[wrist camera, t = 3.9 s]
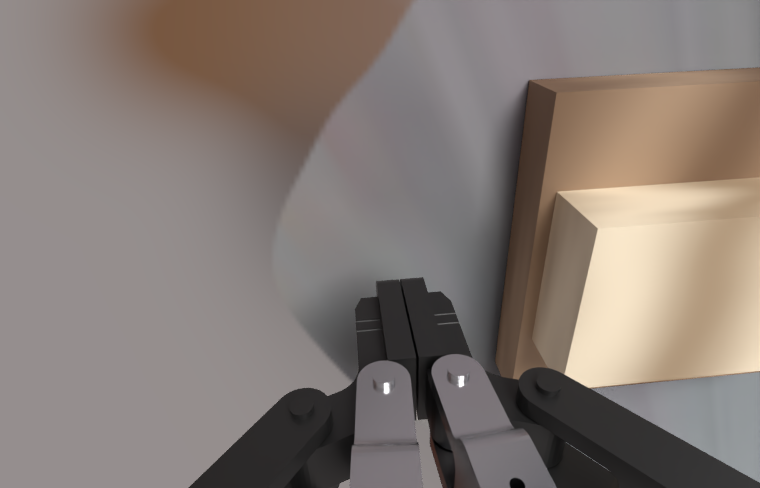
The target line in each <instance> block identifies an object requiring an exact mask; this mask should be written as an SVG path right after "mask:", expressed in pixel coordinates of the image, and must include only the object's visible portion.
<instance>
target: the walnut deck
mask: <svg viewBox="0 0 760 488" xmlns="http://www.w3.org/2000/svg"><path fill="white" fill-rule="evenodd" d="M758 177H760V68H742V69H724V70H706V71H687V72H669V73H651V74H632V75H614V76H596V77H578V78H559V79H541V80H529V87H528V96H527V104H526V112H525V120H524V128H523V137H522V145H521V153H520V161H519V169H518V178H517V186H516V194H515V202H514V210H513V219H512V227H511V235H510V243H509V251H508V259H507V268H506V276H505V284H504V292H503V300H502V309H501V317H500V325H499V333H498V341H497V350H496V358H495V363H496V365H497V367H498V369H499V372H500V374H501V376H502V377H506V378H512V379H518V380H519V378H520V376H521V375H522V373H523V372H525V371H526V370H528V369H531V368H536V367H544V368H548V367H547V365H546V363H545V362H544V360H543V358H542V356H541V355H540V353H539V351H538V349H537V348H536V346H535V344H534V342H533V340H532V335H533V329H534V324H535V318H536V312H537V306H538V300H539V294H540V288H541V283H542V277H543V271H544V265H545V259H546V253H547V247H548V242H549V236H550V230H551V224H552V218H553V212H554V207H555V201H556V195H557V192H560V191H574V190H588V189H602V188H616V187H630V186H645V185H659V184H673V183H687V182H701V181H716V180H730V179H744V178H758ZM754 372H760V371H754ZM754 372H744V373H754ZM744 373H734V374H744ZM734 374H723V375H734ZM723 375H713V376H723ZM713 376H703V377H713ZM703 377H693V378H703ZM693 378H683V379H693ZM683 379H673V380H683ZM673 380H662V381H673ZM662 381H652V382H662ZM652 382H642V383H652ZM642 383H632V384H642ZM632 384H622V385H632ZM622 385H611V386H601V387H612V386H622ZM601 387H591V388H601ZM591 388H590V389H591Z"/></svg>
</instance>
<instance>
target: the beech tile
mask: <svg viewBox="0 0 760 488" xmlns="http://www.w3.org/2000/svg"><path fill="white" fill-rule="evenodd" d="M532 340H533V342H534V344H535V346H536V348H537V349H538V351H539V353H540V355H541V356H542V358H543V360H544V362H545V363H546V365H547V367H548V368H550V369H554V370H556V371H559V372H561V373H563V374H564V375H566V376H568V377H570V378H572V379H573V380H575V381H577V382H579V383H581V384H582V385H584V386H586V387H588V388H591V387H601V386H611V385H622V384H632V383H642V382H652V381H662V380H673V379H683V378H693V377H703V376H713V375H723V374H734V373H744V372H754V371H760V177H758V178H744V179H730V180H716V181H701V182H687V183H673V184H659V185H645V186H630V187H616V188H602V189H588V190H574V191H560V192H557V195H556V201H555V207H554V212H553V218H552V224H551V230H550V236H549V242H548V247H547V253H546V259H545V265H544V271H543V277H542V283H541V288H540V294H539V300H538V306H537V312H536V318H535V324H534V329H533V335H532Z"/></svg>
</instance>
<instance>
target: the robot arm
mask: <svg viewBox="0 0 760 488" xmlns="http://www.w3.org/2000/svg"><path fill="white" fill-rule="evenodd" d="M376 292H377V297H371V298H361V300H360V301H359V303H358V305H357V307H356V309H355V313H356V329H357V344H358V360H359V372H358V375H357V377H356V379H355V380H354V382H353V383H352V384H351V385H350V386H348V387H347V388H346V389H344V390H342V391H340V392H338V393H335V394H332V395H330V396H326V395H325V394H324V393H323V392H321V391H319V390H317V389H313V388H302V389H297V390H294V391H292V392H290V393H288V394H286V395H285V396H284V397H282V398H281V399H280V400H279V401H278V402H277V403H276V404H275V405H274V406H273V407H272V408H271V409H270V410H269V411H268V412H267V413H266V414H265V415H264V416H262V418H260V420H258V421H257V422H256V423H255V424H254V425H253V426H252V427H251V428H250V429H249V430H248V431H247V432H246V433H245V434H244V435H243V436H242V437H241V438H240V439H239V440H238V441H237V442H236V443H234V444H233V445H232V446H231V447H230V448H229V449H228V450H227V451H226V452H225V453H224V454H223V455H222V456H221V457H220V458H219V459H218V460H217V461H216V462H215V463H214V464H213V465H212V466H211V467H210V468H209V469H208V470H207V471H206V472H204V473H203V474H202V475H201V476H200V477H199V478H198V479H197V480H196V481H195V482H194V483H193V484H192V485H191V486H190V487H189V488H338V487H339V484H340V483H341V482H343V481H346V480H348V479H350V488H423V482H422V471H421V462H420V451H419V444H418V442H417V439H416V429H415V420H416V410H417V415H418V420H421V419H428V423H429V428H430V447H431V450H432V453H433V457H434V460H435V464H436V467H437V470H438V473H439V477H440V480H441V484H442V487H443V488H760V483H759V482H757V481H755V480H753V479H752V478H750V477H748V476H746V475H744V474H743V473H741V472H739V471H737V470H735V469H734V468H732V467H730V466H728V465H726V464H725V463H723V462H721V461H719V460H717V459H716V458H714V457H712V456H710V455H708V454H707V453H705V452H703V451H701V450H699V449H698V448H696V447H694V446H692V445H690V444H689V443H687V442H685V441H683V440H681V439H680V438H678V437H676V436H674V435H672V434H671V433H669V432H667V431H665V430H663V429H662V428H660V427H658V426H656V425H654V424H653V423H651V422H649V421H647V420H645V419H644V418H642V417H640V416H638V415H636V414H635V413H633V412H631V411H629V410H627V409H626V408H624V407H622V406H620V405H618V404H617V403H615V402H613V401H611V400H609V399H608V398H606V397H604V396H602V395H600V394H599V393H597V392H595V391H593V390H591V389H590V388H588V387H586V386H584V385H582V384H581V383H579V382H577V381H575V380H573V379H572V378H570V377H568V376H566V375H564V374H563V373H561V372H559V371H556V370H554V369H550V368H544V367H536V368H531V369H528V370H526V371H525V372H523V373H522V375H521V376H520V378H519V380H518V379H512V378H506V377H500V376H496V375H493V374H490V373H488V372H486V371H485V370H484V369H483V367H482V365H481V364H480V363H479V362H477V361H476V360H475V359H473V358H472V356H471V353H470V351H469V348H468V345H467V343H466V340H465V337H464V335H463V332H462V329H461V327H460V324H459V322H458V319H457V316H456V314H455V311H454V308H453V305H452V303H451V301H450V300H449V299H448V298H447V297H446V296H445V295H444V294H443V293H442V292H430V293H428V292H427V288H426V285H425V282H424V279H423V277H422V278H410V279H400V282H399V279H398V280H386V281H376ZM566 442H567V443H569V444H570V445H572V446H573V447H575V448H576V449H578V450H579V451H578V450H576V449H575V448H573V447H572V446H570V445H569V444H567V443H566ZM580 451H581V452H582V453H581V452H580ZM583 453H584V454H585V455H584V454H583ZM586 455H587V456H588V457H587V456H586ZM589 457H590V458H591V459H590V458H589ZM592 459H593V460H595V461H596V462H598V463H599V464H601V465H602V466H604V467H605V468H607V469H608V470H609V471H608V470H607V469H605V468H604V467H602V466H601V465H599V464H598V463H596V462H595V461H593V460H592Z"/></svg>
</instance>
